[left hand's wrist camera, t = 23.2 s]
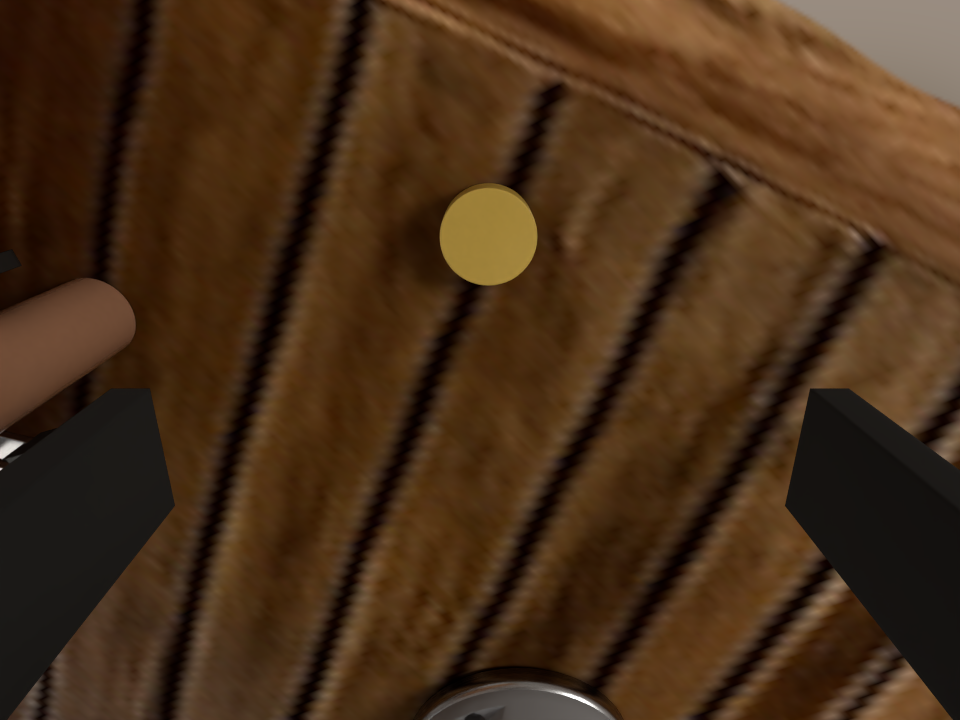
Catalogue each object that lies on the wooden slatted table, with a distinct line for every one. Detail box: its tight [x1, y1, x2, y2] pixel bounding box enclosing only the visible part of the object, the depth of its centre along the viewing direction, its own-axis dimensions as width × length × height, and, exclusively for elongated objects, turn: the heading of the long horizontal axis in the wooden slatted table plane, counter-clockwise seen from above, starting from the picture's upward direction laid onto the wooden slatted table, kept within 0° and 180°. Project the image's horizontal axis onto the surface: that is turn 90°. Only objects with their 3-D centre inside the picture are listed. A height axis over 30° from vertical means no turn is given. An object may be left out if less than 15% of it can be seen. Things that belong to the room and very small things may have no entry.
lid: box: [440, 183, 537, 285], centre depth 28 cm, size 4×4×2 cm
